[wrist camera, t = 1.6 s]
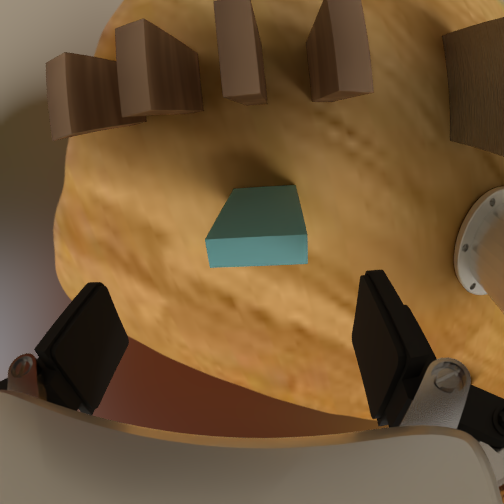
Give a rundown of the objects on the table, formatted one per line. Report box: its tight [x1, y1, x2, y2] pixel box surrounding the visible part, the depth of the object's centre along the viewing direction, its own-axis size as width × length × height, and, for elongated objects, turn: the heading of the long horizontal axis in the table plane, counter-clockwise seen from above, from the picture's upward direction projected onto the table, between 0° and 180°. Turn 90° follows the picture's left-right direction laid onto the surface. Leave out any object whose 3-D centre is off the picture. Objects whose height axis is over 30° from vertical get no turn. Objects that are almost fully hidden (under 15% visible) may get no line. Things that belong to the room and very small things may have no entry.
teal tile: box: [205, 185, 308, 268], centre depth 19 cm, size 2×5×10 cm, turn 95°
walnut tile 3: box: [214, 0, 268, 105], centre depth 14 cm, size 2×5×10 cm, turn 6°
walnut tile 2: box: [115, 19, 204, 117], centre depth 15 cm, size 2×5×10 cm, turn 6°
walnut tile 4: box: [306, 0, 374, 102], centre depth 14 cm, size 2×5×10 cm, turn 5°
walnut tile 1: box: [46, 52, 147, 141], centre depth 15 cm, size 2×5×10 cm, turn 5°
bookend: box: [442, 17, 504, 157], centre depth 11 cm, size 2×10×12 cm, turn 5°
